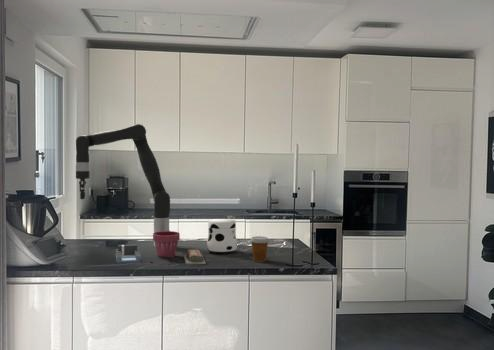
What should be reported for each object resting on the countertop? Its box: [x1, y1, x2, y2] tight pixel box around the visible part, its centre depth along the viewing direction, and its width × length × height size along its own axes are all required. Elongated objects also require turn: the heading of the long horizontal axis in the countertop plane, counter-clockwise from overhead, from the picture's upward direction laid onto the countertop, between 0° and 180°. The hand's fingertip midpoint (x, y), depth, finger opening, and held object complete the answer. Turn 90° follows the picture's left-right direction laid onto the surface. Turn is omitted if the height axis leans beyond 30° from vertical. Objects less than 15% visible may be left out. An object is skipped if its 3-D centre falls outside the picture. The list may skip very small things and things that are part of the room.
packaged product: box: [183, 249, 207, 266], centre depth 245 cm, size 18×5×10 cm
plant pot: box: [152, 230, 181, 259], centre depth 254 cm, size 14×14×13 cm
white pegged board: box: [115, 247, 142, 265], centre depth 247 cm, size 12×22×4 cm, turn 17°
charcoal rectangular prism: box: [117, 244, 138, 256], centre depth 253 cm, size 10×3×5 cm, turn 107°
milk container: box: [206, 218, 238, 254], centre depth 268 cm, size 17×17×18 cm
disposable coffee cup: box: [250, 235, 270, 263], centre depth 247 cm, size 10×10×12 cm
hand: (82, 198), depth 271 cm, fingers open, 8 cm apart
